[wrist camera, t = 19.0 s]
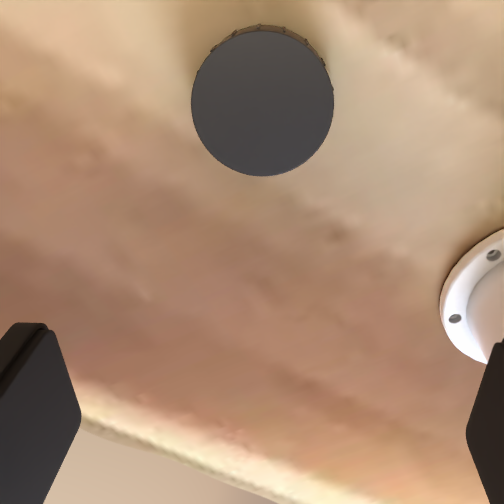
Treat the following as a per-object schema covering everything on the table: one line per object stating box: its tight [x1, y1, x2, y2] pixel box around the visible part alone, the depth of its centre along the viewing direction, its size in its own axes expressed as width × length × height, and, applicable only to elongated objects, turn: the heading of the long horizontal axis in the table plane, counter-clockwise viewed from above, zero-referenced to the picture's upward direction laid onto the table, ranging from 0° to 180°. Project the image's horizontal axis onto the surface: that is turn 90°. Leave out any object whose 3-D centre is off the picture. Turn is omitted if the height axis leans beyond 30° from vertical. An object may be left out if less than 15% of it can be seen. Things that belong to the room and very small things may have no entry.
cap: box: [191, 24, 334, 176], centre depth 25 cm, size 8×8×3 cm
